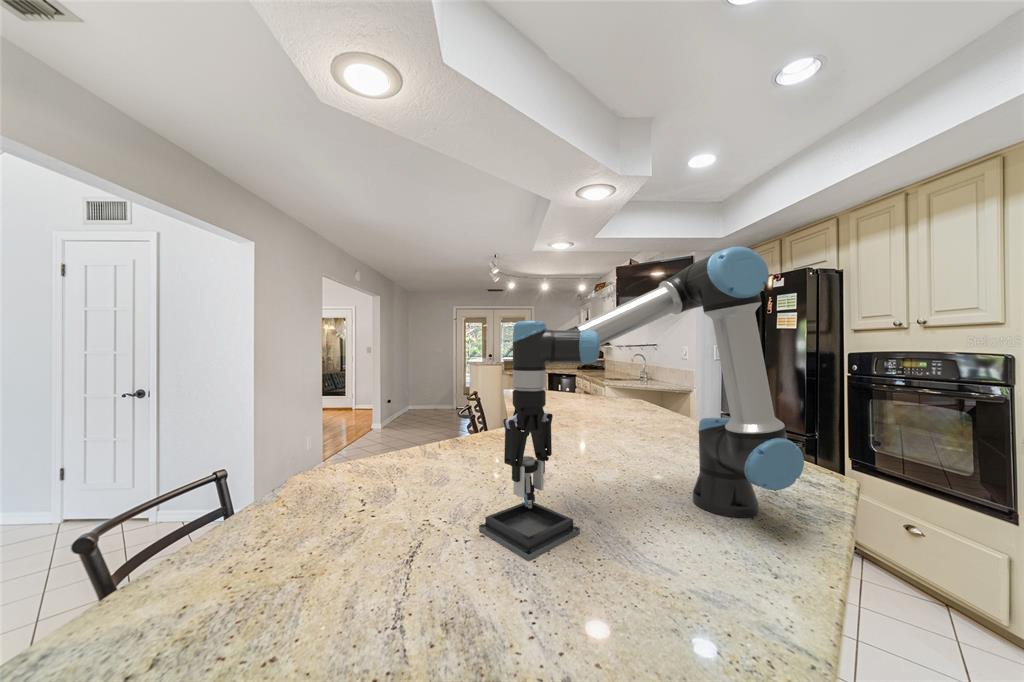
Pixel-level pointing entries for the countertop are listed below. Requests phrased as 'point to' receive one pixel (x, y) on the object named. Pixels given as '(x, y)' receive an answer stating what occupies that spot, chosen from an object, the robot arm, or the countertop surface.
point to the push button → (529, 480)
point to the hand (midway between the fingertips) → (528, 491)
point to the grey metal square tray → (529, 529)
